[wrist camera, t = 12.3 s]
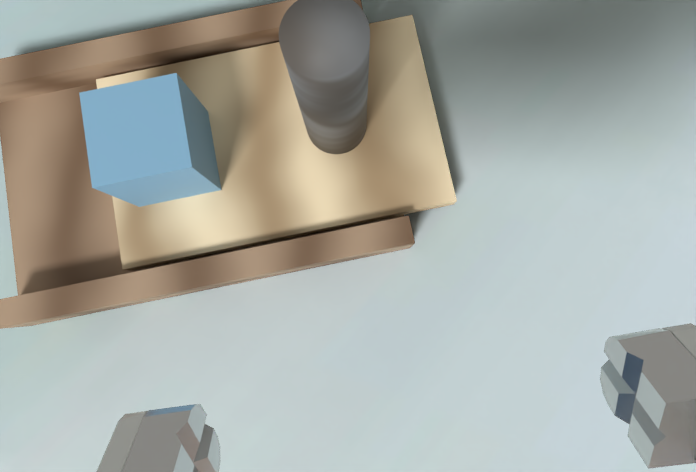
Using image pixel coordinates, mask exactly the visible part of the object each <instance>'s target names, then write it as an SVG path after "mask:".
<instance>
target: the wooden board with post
mask: <svg viewBox="0 0 696 472" xmlns="http://www.w3.org/2000/svg"><path fill="white" fill-rule="evenodd" d="M173 73H177V74H178V75H179V77H180V78H181V79H182V80H183V81H184V83H185V84H186V85H187V86H188V88H189V89H190V90H191V91H192V92H193V94H194V95H195V96H196V97H197V99H198V100H199V101H200V102H201V103H202V105H203V106H204V107H205V108H206V110H207V111H208V114H209V120H210V126H211V132H212V138H213V143H214V149H215V155H216V161H217V167H218V172H219V178H220V184H221V190H219V191H214V192H209V193H205V194H200V195H195V196H190V197H185V198H180V199H175V200H170V201H166V202H161V203H156V204H151V205H146V206H141V207H138V206H136V205H133V204H131V203H128V202H126V201H124V200H121V199H119V198H116V197H114V196H112V198H113V205H114V212H115V220H116V227H117V234H118V241H119V248H120V255H121V262H122V269H123V270H130V271H131V270H136V269H141V268H146V267H150V266H155V265H160V264H165V263H170V262H175V261H180V260H185V259H190V258H194V257H199V256H204V255H209V254H214V253H219V252H224V251H229V250H233V249H238V248H243V247H248V246H253V245H258V244H263V243H268V242H272V241H277V240H282V239H287V238H292V237H297V236H302V235H307V234H312V233H316V232H321V231H326V230H331V229H336V228H341V227H346V226H351V225H355V224H360V223H365V222H370V221H375V220H380V219H385V218H390V217H394V216H399V215H404V214H409V213H414V212H419V211H424V210H429V209H433V208H438V207H443V206H448V205H453V204H454V203H455V202H456V201H457V200H456V196H455V192H454V187H453V183H452V179H451V175H450V171H449V166H448V162H447V158H446V154H445V150H444V145H443V141H442V137H441V133H440V129H439V124H438V120H437V116H436V112H435V108H434V103H433V99H432V95H431V91H430V87H429V82H428V78H427V74H426V70H425V66H424V61H423V57H422V53H421V49H420V45H419V40H418V36H417V32H416V28H415V24H414V19H413V15H409V16H404V17H399V18H394V19H389V20H384V21H380V22H375V23H370V24H369V23H368V19H367V17H366V15H365V13H364V12H363V10H362V9H361V8H360V6H359V5H358V4H357V3H356V2H354V1H353V0H297V1H296V2H294V3H293V4H292V5H291V6H290V7H289V9H288V10H287V11H286V13H285V14H284V16H283V18H282V20H281V23H280V27H279V42H277V43H272V44H267V45H262V46H257V47H252V48H247V49H242V50H237V51H233V52H228V53H223V54H218V55H213V56H208V57H203V58H198V59H193V60H189V61H184V62H179V63H174V64H169V65H164V66H159V67H154V68H149V69H144V70H140V71H135V72H130V73H125V74H120V75H115V76H110V77H105V78H100V79H96V84H97V89H100V88H105V87H110V86H114V85H119V84H124V83H129V82H134V81H139V80H144V79H149V78H154V77H159V76H163V75H168V74H173Z"/></svg>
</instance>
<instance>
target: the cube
mask: <svg viewBox="0 0 696 472" xmlns="http://www.w3.org/2000/svg"><path fill="white" fill-rule="evenodd" d="M79 95H80V102H81V110H82V117H83V124H84V132H85V139H86V147H87V154H88V161H89V169H90V176H91V184H92V188H94V189H96V190H99V191H101V192H104V193H106V194H109V195H111V196H114V197H116V198H119V199H121V200H124V201H126V202H128V203H131V204H133V205H136V206H138V207H141V206H146V205H151V204H156V203H161V202H166V201H170V200H175V199H180V198H185V197H190V196H195V195H200V194H205V193H209V192H214V191H219V190H221V184H220V178H219V172H218V167H217V161H216V155H215V149H214V143H213V138H212V132H211V126H210V120H209V114H208V111H207V110H206V108H205V107H204V106H203V105H202V103H201V102H200V101H199V100H198V99H197V97H196V96H195V95H194V94H193V92H192V91H191V90H190V89H189V88H188V86H187V85H186V84H185V83H184V81H183V80H182V79H181V78H180V77H179V75H178V74H177V73H173V74H168V75H163V76H159V77H154V78H149V79H144V80H139V81H134V82H129V83H124V84H119V85H114V86H110V87H105V88H100V89H95V90H90V91H85V92H80V93H79Z"/></svg>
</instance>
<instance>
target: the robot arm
mask: <svg viewBox="0 0 696 472" xmlns="http://www.w3.org/2000/svg"><path fill="white" fill-rule="evenodd" d="M604 352H605V354H606V355H607V357H608V358H609V360H608V361H607V362H606V363H605V364H604V365H603V366H602V367H601V376H600V381H601V386H602V391H603V394H604V397H605V399H606V401H607V403H608V405H609V407H610V409H611V410H612V412H613V413H614V415H615V416H616V417H618V418H620V419H621V420H623V421H625V422H626V423H628V424H629V430H628V437H629V439H630V441H631V442H632V444H633V445H634V447H635V448H636V450H637V452H638V453H639V455H640V456H641V458H642V459H643V461H644V462H645V464H646V466H647V467H648V468H656V467H664V466H673V465H681V464H690V463H696V326H695V325H693V324H684V325H678V326H672V327H666V328H662V329H660V328H658V329H652V330H647V331H641V332H635V333H629V334H623V335H618V336H612V337H609V338H608V339H607V341H606V342H605V348H604ZM205 419H206V413H205V411H204V409H203V408H202V406H201V404H194V405H187V406H179V407H172V408H164V409H157V410H149V411H144V412H137V413H130V414H125V415H124V416H123V417H122V418H121V419H120V420H119V421H118V423H117V425H116V428H115V430H114V432H113V435H112V437H111V439H110V442H109V444H108V446H107V449H106V451H105V453H104V455H103V458H102V460H101V462H100V465H99V467H98V469H97V472H219V466H220V444H219V440H218V436H217V434H216V432H215V430H214V428H212V427H210V426H208V425H206V424H204V423H205Z"/></svg>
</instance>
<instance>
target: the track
mask: <svg viewBox="0 0 696 472" xmlns="http://www.w3.org/2000/svg"><path fill="white" fill-rule="evenodd" d="M296 1H297V0H286V1H282V2H277V3H272V4H267V5H262V6H257V7H252V8H247V9H242V10H237V11H232V12H228V13H223V14H218V15H213V16H208V17H203V18H198V19H193V20H188V21H183V22H179V23H174V24H169V25H164V26H159V27H154V28H149V29H144V30H139V31H134V32H130V33H125V34H120V35H115V36H110V37H105V38H100V39H95V40H90V41H85V42H81V43H76V44H71V45H66V46H61V47H56V48H51V49H46V50H41V51H36V52H32V53H27V54H22V55H17V56H12V57H7V58H2V59H0V137H1V146H2V155H3V164H4V173H5V182H6V191H7V200H8V209H9V218H10V227H11V236H12V245H13V254H14V263H15V272H16V281H17V290H18V296H14V297H9V298H4V299H0V329H1V328H12V327H23V326H32V325H37V324H42V323H47V322H52V321H57V320H61V319H66V318H71V317H76V316H81V315H86V314H91V313H96V312H100V311H105V310H110V309H115V308H120V307H125V306H130V305H135V304H139V303H144V302H149V301H154V300H159V299H164V298H169V297H174V296H178V295H183V294H188V293H193V292H198V291H203V290H208V289H213V288H217V287H222V286H227V285H232V284H237V283H242V282H247V281H252V280H256V279H261V278H266V277H271V276H276V275H281V274H286V273H291V272H296V271H300V270H305V269H310V268H315V267H320V266H325V265H330V264H335V263H339V262H344V261H349V260H354V259H359V258H364V257H369V256H374V255H378V254H383V253H388V252H393V251H398V250H403V249H408V248H410V247H411V246H412V245H413V244H414V243H415V241H414V236H413V232H412V228H411V223H410V219H409V216H404V215H399V216H394V217H390V218H385V219H380V220H375V221H370V222H365V223H360V224H355V225H351V226H346V227H341V228H336V229H331V230H326V231H321V232H316V233H312V234H307V235H302V236H297V237H292V238H287V239H282V240H277V241H272V242H268V243H263V244H258V245H253V246H248V247H243V248H238V249H233V250H229V251H224V252H219V253H214V254H209V255H204V256H199V257H194V258H190V259H185V260H180V261H175V262H170V263H165V264H160V265H155V266H150V267H146V268H141V269H136V270H131V271H130V270H123V269H122V262H121V255H120V248H119V241H118V234H117V227H116V220H115V212H114V205H113V198H112V196H111V195H109V194H106V193H104V192H101V191H99V190H96V189H94V188H92V184H91V176H90V169H89V161H88V154H87V147H86V139H85V132H84V124H83V117H82V110H81V102H80V95H79V93H80V92H85V91H90V90H95V89H97V84H96V79H100V78H105V77H110V76H115V75H120V74H125V73H130V72H135V71H140V70H144V69H149V68H154V67H159V66H164V65H169V64H174V63H179V62H184V61H189V60H193V59H198V58H203V57H208V56H213V55H218V54H223V53H228V52H233V51H237V50H242V49H247V48H252V47H257V46H262V45H267V44H272V43H277V42H279V27H280V23H281V20H282V18H283V16H284V14H285V13H286V11H287V10H288V9H289V7H290V6H291V5H292V4H293V3H294V2H296ZM353 1H354V2H356V3H357V4H358V5H359V6H360V8H361V9H362V10H363V8H362V4H361V0H353Z"/></svg>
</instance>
